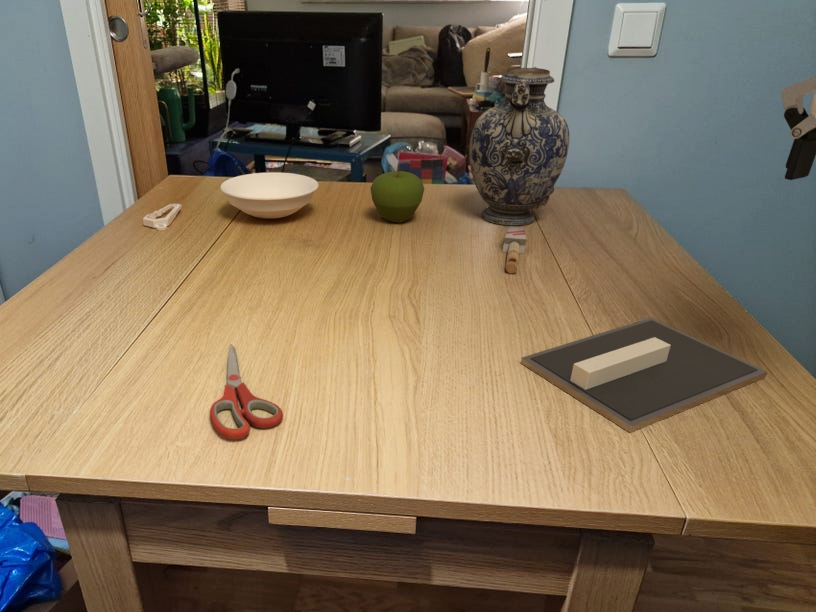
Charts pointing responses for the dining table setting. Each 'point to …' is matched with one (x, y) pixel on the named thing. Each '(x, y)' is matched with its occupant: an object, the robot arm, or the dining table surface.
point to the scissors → (246, 401)
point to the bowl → (269, 193)
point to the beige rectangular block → (619, 363)
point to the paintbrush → (514, 246)
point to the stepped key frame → (162, 222)
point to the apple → (397, 195)
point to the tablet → (647, 374)
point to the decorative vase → (518, 149)
